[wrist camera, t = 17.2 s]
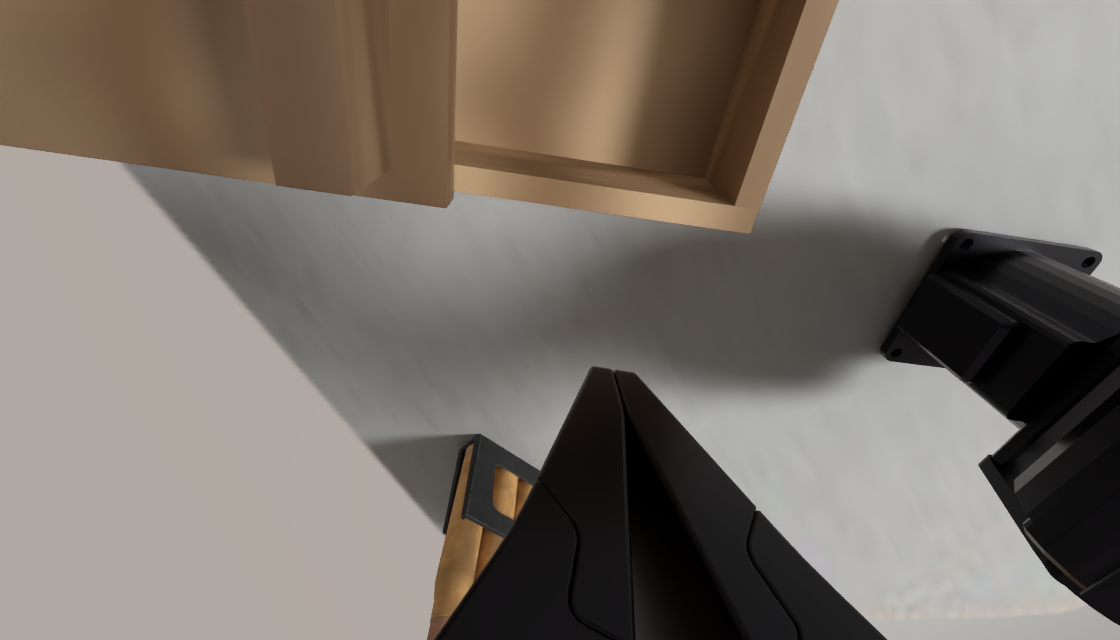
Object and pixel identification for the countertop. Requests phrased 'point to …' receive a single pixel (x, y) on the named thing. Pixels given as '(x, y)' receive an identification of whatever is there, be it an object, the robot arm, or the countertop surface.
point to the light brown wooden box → (632, 102)
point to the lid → (241, 89)
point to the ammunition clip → (477, 519)
